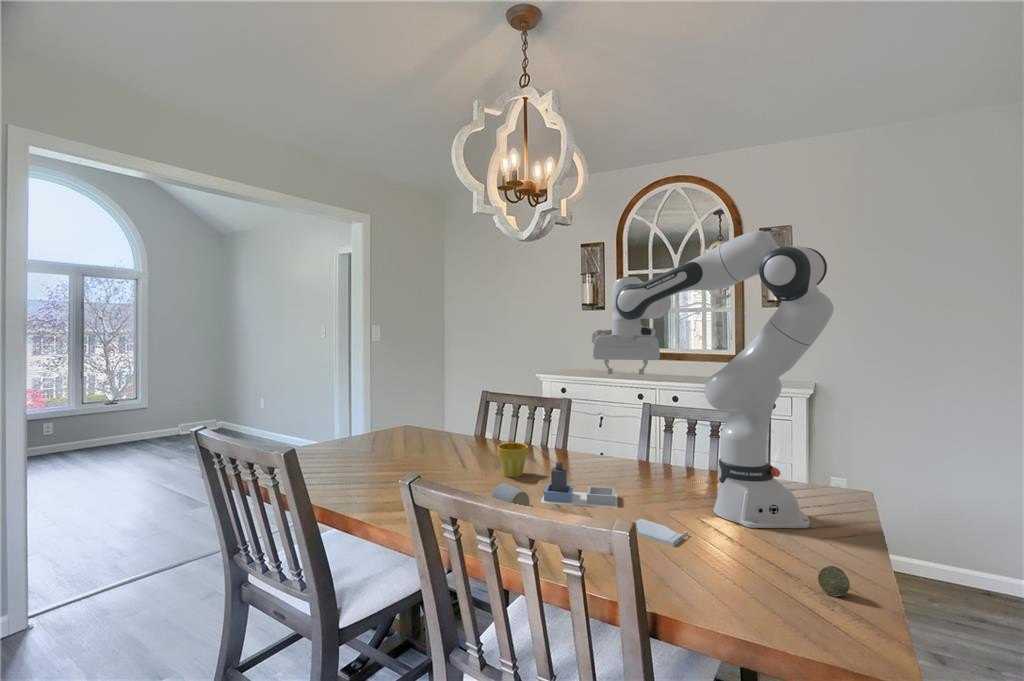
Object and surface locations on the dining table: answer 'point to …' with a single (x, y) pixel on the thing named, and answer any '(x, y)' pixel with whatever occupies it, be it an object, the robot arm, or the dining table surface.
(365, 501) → the dining table surface
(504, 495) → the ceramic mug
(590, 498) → the plate
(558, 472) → the plug
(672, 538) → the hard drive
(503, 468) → the plant pot
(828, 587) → the lime
